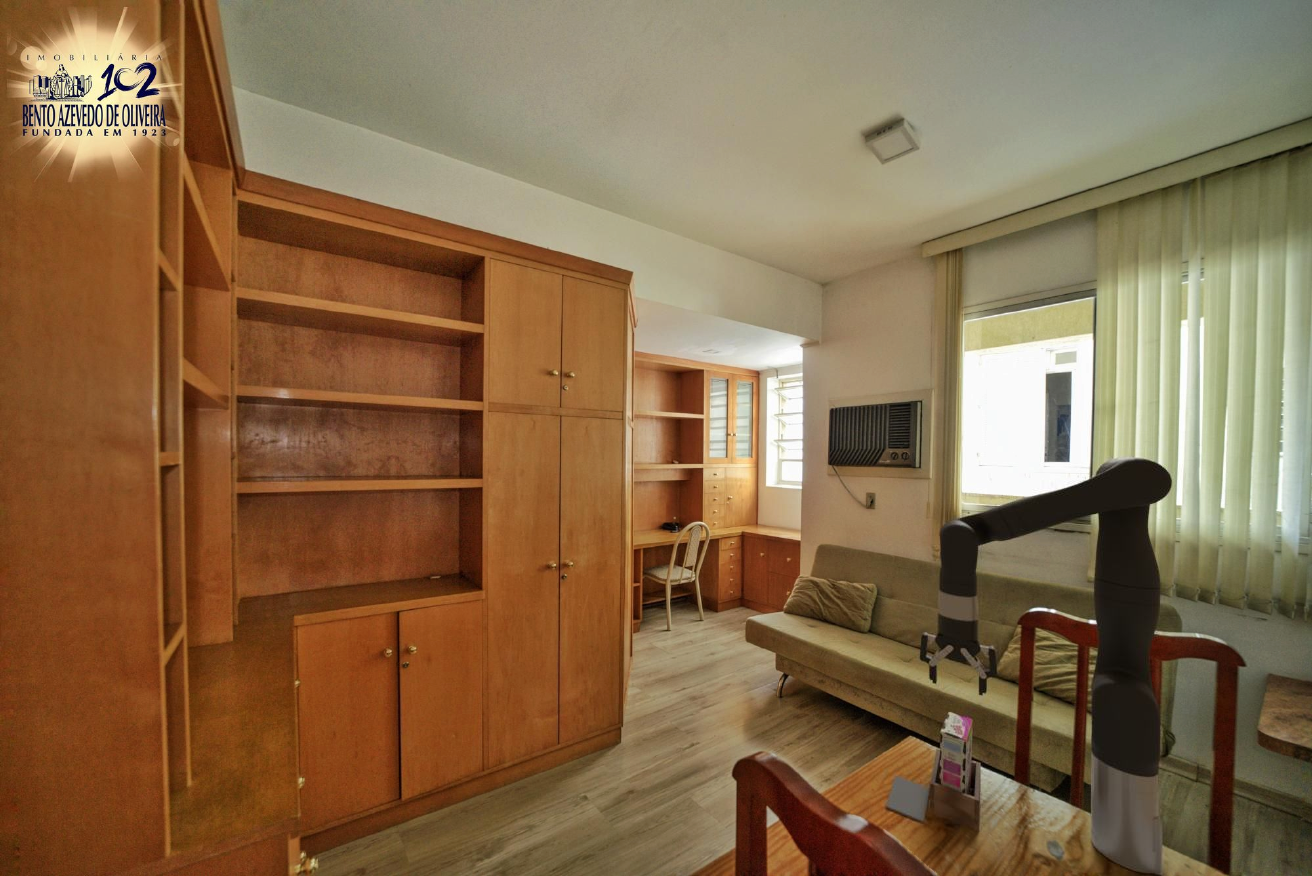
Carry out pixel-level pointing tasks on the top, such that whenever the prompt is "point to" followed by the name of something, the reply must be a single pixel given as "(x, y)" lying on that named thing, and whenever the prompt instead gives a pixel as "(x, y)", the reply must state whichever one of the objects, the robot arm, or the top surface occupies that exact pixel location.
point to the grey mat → (908, 798)
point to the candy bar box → (956, 753)
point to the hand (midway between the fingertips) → (957, 688)
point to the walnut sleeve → (956, 798)
